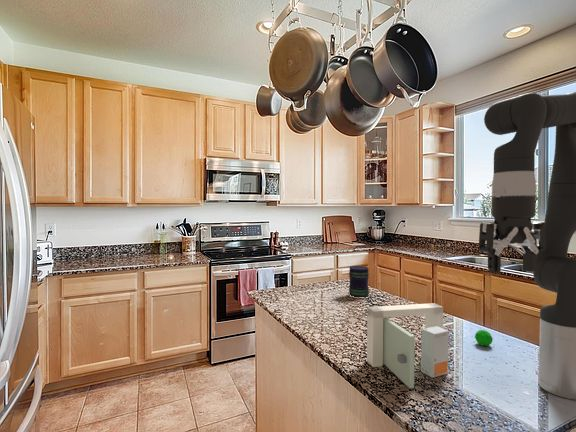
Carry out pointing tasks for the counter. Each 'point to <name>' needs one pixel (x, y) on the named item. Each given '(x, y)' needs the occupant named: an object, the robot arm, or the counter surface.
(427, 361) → the skincare box
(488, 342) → the polyhedron
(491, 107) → the robot arm
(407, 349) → the door
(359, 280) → the storage jar
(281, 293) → the counter surface
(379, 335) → the door frame
